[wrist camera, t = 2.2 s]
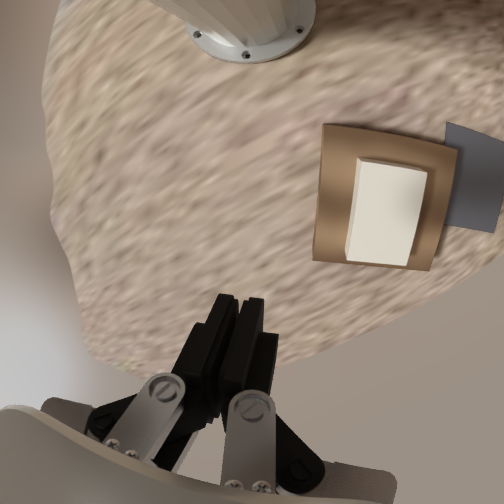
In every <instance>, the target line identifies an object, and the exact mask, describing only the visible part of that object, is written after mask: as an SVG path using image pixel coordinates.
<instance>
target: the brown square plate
mask: <svg viewBox="0 0 504 504" xmlns="http://www.w3.org/2000/svg"><path fill="white" fill-rule="evenodd" d="M457 151H458V150H456V149H454V148H451V147H448V146H445V145H442V144H438V143H434V142H430V141H425V140H421V139H417V138H412V137H408V136H403V135H398V134H392V133H387V132H381V131H375V130H369V129H363V128H356V127H348V126H340V125H331V124H323V125H322V145H321V160H320V174H319V187H318V198H317V209H316V219H315V229H314V238H313V261H322V262H333V263H344V264H355V265H365V266H376V267H387V268H398V269H409V270H420V271H429V270H430V267H431V264H432V261H433V258H434V255H435V252H436V248H437V245H438V242H439V238H440V235H441V231H442V227H443V223H444V219H445V215H446V211H447V207H448V202H449V198H450V193H451V188H452V183H453V177H454V171H455V165H456V158H457ZM357 157H359V158H366V159H373V160H379V161H386V162H392V163H398V164H403V165H409V166H414V167H419V168H421V169H422V170H424V171H426V172H427V178H426V184H425V189H424V195H423V200H422V205H421V210H420V214H419V219H418V223H417V227H416V231H415V235H414V239H413V243H412V247H411V251H410V254H409V258H408V261H407V265H406V266H401V265H390V264H380V263H369V262H359V261H348V260H347V259H346V254H345V245H346V239H347V233H348V227H349V220H350V213H351V206H352V199H353V191H354V183H355V174H356V165H357Z"/></svg>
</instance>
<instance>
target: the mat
mask: <svg viewBox="0 0 504 504" xmlns="http://www.w3.org/2000/svg"><path fill="white" fill-rule="evenodd" d="M444 145H445V146H448V147H451V148H454V149H456V150H458V151H457V158H456V165H455V171H454V177H453V183H452V188H451V193H450V198H449V202H448V207H447V211H446V215H445V219H444V223H443V224H444V225H451V226H456V227H462V228H468V229H473V230H479V231H484V232H489V233H494V231H495V227H496V224H497V220H498V216H499V213H500V209H501V205H502V201H503V196H504V142H501V141H499V140H497V139H494V138H492V137H489V136H486V135H484V134H481V133H478V132H476V131H473V130H470V129H467V128H464V127H461V126H458V125H455V124H452V123H448V122H446V133H445V143H444Z"/></svg>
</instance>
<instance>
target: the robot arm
mask: <svg viewBox="0 0 504 504" xmlns="http://www.w3.org/2000/svg"><path fill="white" fill-rule="evenodd" d="M147 1H149V2H151V3H153V4H155V5H157V6H159V7H161V8H163V9H164V10H166V11H168V12H170V13H172V14H173V15H175V16H177V17H179V18H180V19H182V20H184V22H185V27H186V30H187V33H188V35H189V36H190V38H191V39H192V41H193V42H194V43H195V44H196V45H197V46H198V47H199V48H200V49H201V50H203V51H204V52H206V53H207V54H209V55H211V56H213V57H215V58H217V59H220V60H223V61H226V62H231V63H237V64H255V63H262V62H266V61H270V60H273V59H277V58H279V57H281V56H283V55H285V54H287V53H289V52H290V51H292V50H293V49H294V48H296V47H297V46H298V45H299V44H300V43H301V42H302V41H303V40H304V39H305V38H306V37H307V35H308V34H309V32H310V31H311V29H312V26H313V23H314V21H315V15H316V2H315V0H147ZM298 30H302V31H303V32H302V33H298V32H297V31H298ZM200 34H202V35H201V37H199V35H200ZM248 54H250V55H251V56H250V58H248V59H247V58H246V55H248ZM263 316H264V299H261V298H253V297H250V298H249V301H247V300H244V302H243V304H242V307H241V310H240V313H239V304H238V299H234V296H233V295H228V294H221V293H220V294H219V295H218V296H217V299H216V301H215V303H214V305H213V307H212V309H211V312H210V314H209V316H208V318H207V320H206V322H205V324H204V323H198V322H197V323H196V324H195V325H194V327H193V329H192V331H191V333H190V335H189V337H188V339H187V341H186V343H185V345H184V347H183V349H182V351H181V353H180V355H179V357H178V359H177V361H176V363H175V365H174V367H173V369H172V371H171V373H160V374H156V375H154V376H152V377H151V378H150V379H149V380H148V381H147V382H146V383H145V385H144V386H143V388H142V389H141V390H140V392H139V393H137V394H135V395H132V396H129V397H127V398H124V399H121V400H118V401H115V402H112V403H109V404H106V405H103V406H100V407H98V408H93V407H92V406H91V405H87V404H82V403H77V402H72V401H69V400H64V399H60V398H56V397H55V398H54V397H52V398H49V399H47V400H46V401H45V402H44V403H43V405H42V407H41V410H37V409H35V408H32V407H28V406H24V405H9V406H6V407H4V408H3V409H1V410H0V504H393V501H394V497H395V493H396V489H397V481H396V479H395V476H393V475H392V474H391V473H390V472H386V471H383V470H376V469H370V468H364V467H359V466H353V465H348V464H344V463H339V462H334V463H331V462H327V461H323V460H321V459H320V458H319V457H318V456H317V455H316V454H315V453H314V452H313V451H312V450H311V449H310V448H309V447H308V446H307V445H306V444H305V443H304V442H303V441H302V440H301V439H300V438H299V437H298V436H297V435H296V434H295V433H294V432H293V431H292V430H291V429H290V428H289V427H288V426H287V425H286V424H285V423H284V422H283V420H282V419H281V418H280V417H279V416H278V415H277V414H276V408H275V403H274V401H273V400H272V398H271V397H270V390H271V385H272V380H273V374H274V368H275V362H276V355H277V347H278V338H279V334H275V333H266V332H263ZM220 413H221V415H222V421H223V426H224V431H225V433H226V437H225V446H224V455H223V464H222V474H221V482H220V485H216V484H212V483H208V482H204V481H200V480H196V479H193V478H189V477H186V476H182V475H178V474H176V473H177V471H178V469H179V467H180V465H181V464H182V462H183V460H184V458H185V457H186V455H187V453H188V451H189V449H190V447H191V446H192V444H193V442H194V440H195V438H196V436H197V435H198V432H199V430H201V429H203V428H205V426H206V423H210V424H212V422H213V419H214V418H218V417H219V416H220ZM275 493H276V494H275Z"/></svg>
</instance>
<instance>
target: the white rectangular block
mask: <svg viewBox="0 0 504 504" xmlns="http://www.w3.org/2000/svg"><path fill="white" fill-rule="evenodd" d="M426 178H427V172H426V171H424V170H422V169H421V168H419V167H414V166H409V165H403V164H398V163H392V162H386V161H379V160H373V159H366V158H359V157H357V165H356V174H355V183H354V191H353V199H352V206H351V213H350V220H349V227H348V233H347V239H346V245H345V254H346V259H347V260H348V261H359V262H369V263H380V264H390V265H401V266H406V265H407V261H408V258H409V254H410V251H411V247H412V243H413V239H414V235H415V231H416V227H417V223H418V219H419V214H420V210H421V205H422V200H423V195H424V189H425V184H426Z"/></svg>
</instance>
